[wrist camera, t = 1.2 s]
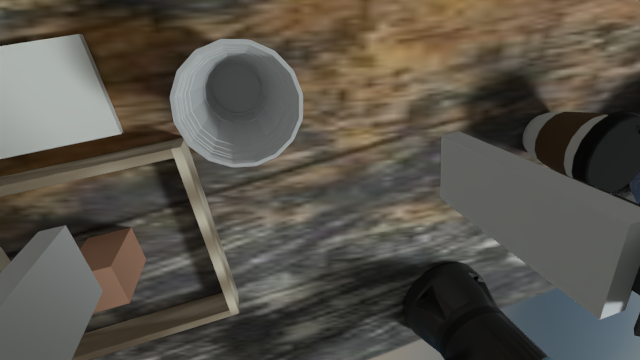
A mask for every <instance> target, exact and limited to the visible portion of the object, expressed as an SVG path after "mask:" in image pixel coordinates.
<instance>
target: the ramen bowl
mask: <svg viewBox="0 0 640 360" xmlns="http://www.w3.org/2000/svg"><path fill="white" fill-rule="evenodd" d="M630 189H631V191H632V193H633V195H634V197H635V199H636V201H637V203H638V204H640V172H639V174H638V175H637V176H636V177H635V178H634V179H633V180H632V181H631V182H630Z"/></svg>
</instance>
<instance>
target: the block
mask: <svg viewBox="0 0 640 360" xmlns="http://www.w3.org/2000/svg"><path fill="white" fill-rule="evenodd" d="M80 251H81V253H82V255H83V257H84V258H85V260H86V262H87V264H88V265H89V267H90V269H91V271H92V272H93V274H94V276H95V278H96V280H97V281H98V283H99V285H100V287H101V288H102V290H103V292H102V295H101V297H100V299H99V301H98V303H97V305H96V308H95V310H94V312H93V314H94V313H97V312H100V311H104V310H107V309H111V308H114V307H118V306H121V305H125V304H128V303H130V302H131V299H132V296H133V294H134V291H135V288H136V285H137V283H138V280H139V277H140V275H141V272H142V269H143V267H144V264H145V261H146V258H145V256H144V254H143V252H142V250H141V248H140V245H139V243H138V241H137V239H136V237H135V235H134V233H133V230H132V228H131V227H130V228H126V229H122V230H118V231H114V232H110V233H106V234H103V235H99V236H95V237H91V238H87V240H86V241H85V242H84V244H83V245H82V247H81V248H80Z"/></svg>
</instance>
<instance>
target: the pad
mask: <svg viewBox="0 0 640 360" xmlns="http://www.w3.org/2000/svg"><path fill="white" fill-rule="evenodd" d="M122 133H123V129H122V127H121V125H120V122H119V120H118V117H117V115H116V113H115V110H114V108H113V105H112V103H111V101H110V98H109V96H108V93H107V91H106V89H105V86H104V84H103V81H102V79H101V77H100V74H99V72H98V69H97V67H96V65H95V62H94V60H93V57H92V55H91V53H90V50H89V48H88V45H87V43H86V41H85V38H84V36H83V34H75V35H69V36H62V37H56V38H50V39H43V40H37V41H31V42H24V43H18V44H11V45H5V46H0V159H3V158H8V157H13V156H18V155H23V154H27V153H32V152H37V151H42V150H47V149H52V148H56V147H61V146H66V145H71V144H76V143H81V142H85V141H90V140H95V139H100V138H105V137H109V136H114V135H119V134H122Z"/></svg>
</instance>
